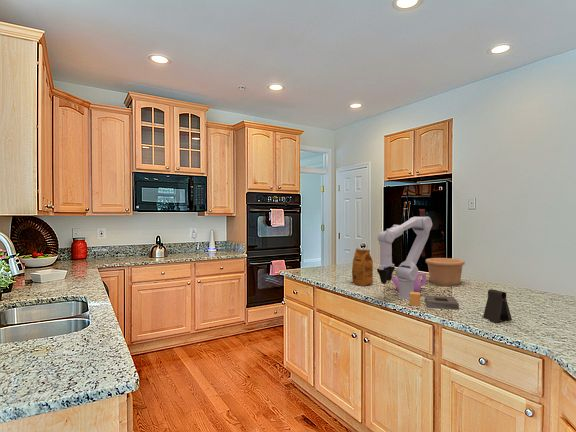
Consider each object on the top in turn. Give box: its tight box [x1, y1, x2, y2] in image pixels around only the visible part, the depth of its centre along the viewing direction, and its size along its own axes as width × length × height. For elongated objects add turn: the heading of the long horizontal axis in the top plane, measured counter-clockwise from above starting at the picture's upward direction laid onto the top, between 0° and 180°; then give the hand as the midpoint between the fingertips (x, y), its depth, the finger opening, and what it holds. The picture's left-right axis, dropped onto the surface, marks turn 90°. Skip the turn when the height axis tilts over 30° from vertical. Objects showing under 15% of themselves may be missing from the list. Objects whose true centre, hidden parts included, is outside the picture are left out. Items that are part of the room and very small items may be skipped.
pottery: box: [425, 257, 465, 287], centre depth 212 cm, size 22×22×14 cm
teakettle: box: [391, 272, 428, 293], centre depth 197 cm, size 17×17×12 cm
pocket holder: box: [424, 295, 460, 311], centre depth 162 cm, size 13×13×3 cm
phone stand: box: [482, 288, 513, 324], centre depth 141 cm, size 9×6×12 cm, turn 110°
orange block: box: [409, 291, 421, 307], centre depth 164 cm, size 4×4×6 cm
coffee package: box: [351, 248, 374, 287], centre depth 214 cm, size 10×12×22 cm
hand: (386, 282), depth 173 cm, fingers open, 7 cm apart
